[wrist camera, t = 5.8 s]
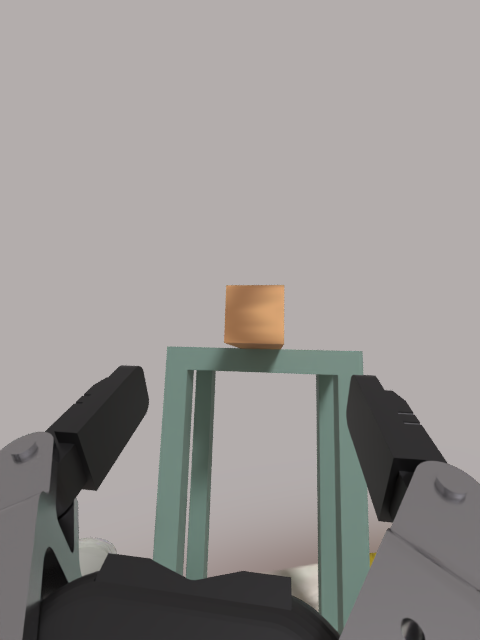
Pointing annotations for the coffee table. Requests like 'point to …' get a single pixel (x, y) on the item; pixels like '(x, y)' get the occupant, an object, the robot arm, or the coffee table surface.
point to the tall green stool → (332, 465)
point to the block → (254, 316)
